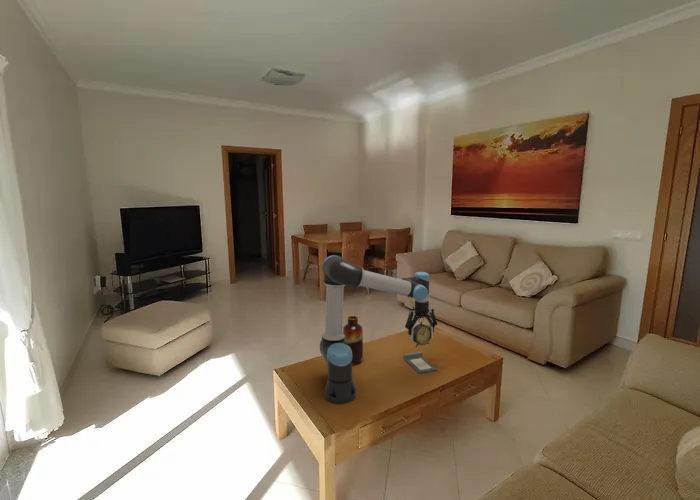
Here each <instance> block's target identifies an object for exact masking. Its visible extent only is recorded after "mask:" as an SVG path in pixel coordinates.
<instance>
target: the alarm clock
mask: <svg viewBox="0 0 700 500" xmlns="http://www.w3.org/2000/svg"><path fill="white" fill-rule="evenodd" d="M424 318H425V317H422V318H419V319H418V321H419V323H418V324H417V325H414V327H413V328H412V329H413V341H412V342H414V343H415V344H416V345H415V348H417V347H418V346H419V345H420V346H425V345H429V344H430V343H429V342H430V340H431V339H432V338H431V335H432V332H431V329H430V327H429V326H428V325H426V324H423V322H424V320H425V319H424ZM420 319H423V320H422V321H420Z"/></svg>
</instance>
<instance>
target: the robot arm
mask: <svg viewBox="0 0 700 500" xmlns="http://www.w3.org/2000/svg"><path fill="white" fill-rule="evenodd" d="M321 269H322V272H323V284H324V285H325V286H326V292H325V293H326V295H325V297H326V298H325V321H324V322H325V324H324V325H325V326H324V332H323V333H322V334H321V340H320V342H319V351H320V353H321V356H322V357H323V359H324V361H325V363H326V365H327V366H326V367H327V381H326V385H325V387H324V397H325V399H326V400H327V401H328V402H331V403H334V404H346V403H349V402H351V401H353V400H354V399H355V398H356V396H357V388H356V384H355V382H354V380H353V365H352V357H353V356H352V350H351V348H350V347H349V346H348V345H345V344H344V343H345V335H344V334H343V314H344V293H345V292H344V291H345V290H344V289H345V287H346V286H349V287H352V288H353V287H354V288H359V287H362V288H363V287H364V288H368V289H372V290H377V291H382V292H386V293H390V294H395V295H399V296H404V297H408V298H411V299H414V310H411V309H410V310H409V311H408V312H409V313H408V317H407V320H406V323H405V326H404V328H405V329H406V330H408V332H407V333H408V335H409V340H410V341H411V342H414V341H413V329H414V327H415V326H416V325H415V324H416V323H417V322H418V321H419V319H423V318H425V319H426V320H427V321H428V324H430V325H429V326H428V327H430V329H431V332H432V335H431V339H433V337H434V334H433V333H434V332H435V328H436V326H437V325H438V321H437V319H436V316H435V309H434V308H432V307H430V302H429V300H430V274H429V273H428V272H425V271H416V272H415V273H414V276H410V277H400V278H398V277H394V276H393V277H392V276H389V275H384V274H382V273H377V272H373V271H370V270H366V269H364V268H363V267H361V266H358V265H355V264H353V263H352V262H349V261H348V260H347V259H344V258H343V257H342V256H340V255H336V254H335V255H333V254H332V255H330V256H328V257H326V258H325V259H324V260H323V262H322V265H321ZM422 317H423V318H422ZM430 317H431V318H430Z"/></svg>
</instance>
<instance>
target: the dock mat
mask: <svg viewBox="0 0 700 500" xmlns="http://www.w3.org/2000/svg"><path fill="white" fill-rule="evenodd" d="M403 360H404V361H405V362H406V363H407V364H408V365H409V366H410V367H411V368H412V369H413V370H414V371H415V372H416V373H417V374H418V375H421V374H425V373H431V372H436V371H437V370H438V369H437V368H436V367H435V366H434V365H433V364H432V363H430V361H428V360H427V359H426V358H425V357H424V356H423V352H422V351H417V352H416V351H415V352H410V353H404V354H403Z"/></svg>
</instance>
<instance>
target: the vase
mask: <svg viewBox="0 0 700 500" xmlns="http://www.w3.org/2000/svg"><path fill="white" fill-rule="evenodd" d="M363 331H364V330H363V326H362V325H361V324H360V323H359V318H358V316H356V315H350V316H349V315H348V317H347V323H346V324H345V325H344V326H342V333H343V334H344V335H345V343H344V344H345V345H348V346H349V347H350V348H351V350H352V356H353V357H352V366H353V365H358V364H360V363H361V362H362V359H363V358H364V357H363V356H364V355H363V354H364V351H363V348H364V346H363V345H364V342H363V340H364V339H363V338H364V337H363Z"/></svg>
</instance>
